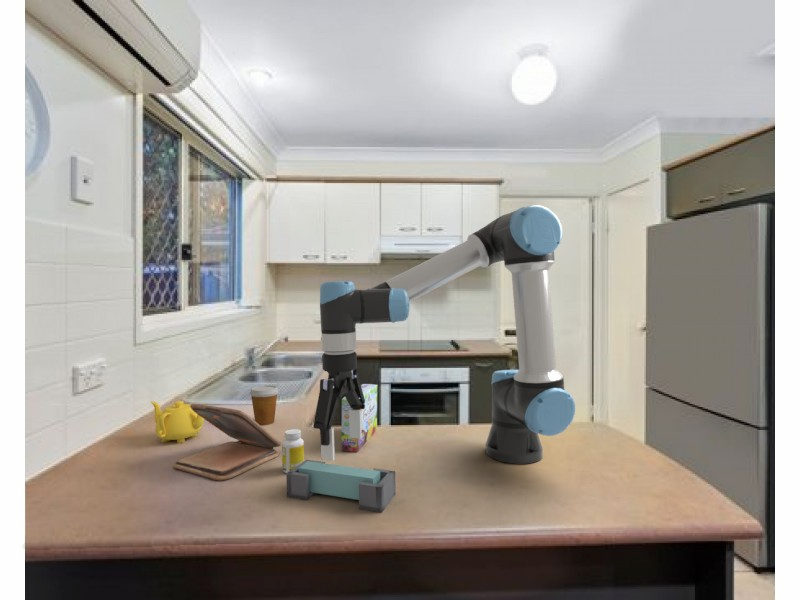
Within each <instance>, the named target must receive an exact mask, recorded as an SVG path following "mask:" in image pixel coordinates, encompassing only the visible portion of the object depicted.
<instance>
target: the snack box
mask: <svg viewBox="0 0 800 600" xmlns="http://www.w3.org/2000/svg"><path fill="white" fill-rule="evenodd" d="M361 388H362V391H363V395H364V399H365V409H360V410H361V428H362V438H350V423H349V410H350V409H353V408H351V407H350V405H349V403H348V401H347V399H346V397H345V396H344V397H343V398H341V438H340V439H341V441H340V444H341V445H340V447H341V448H340V450H341V452H342V451H343V452H351V453H358V452H359V451H360V450H361V449H362V447H363V446H364V445H365V444H366V442H368V440H369V439H370V438H371V437H372V436H373V435H374V434H375V432H376V431H377V430H378V384H373V383H362V384H361ZM359 399H360V398H359Z"/></svg>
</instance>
